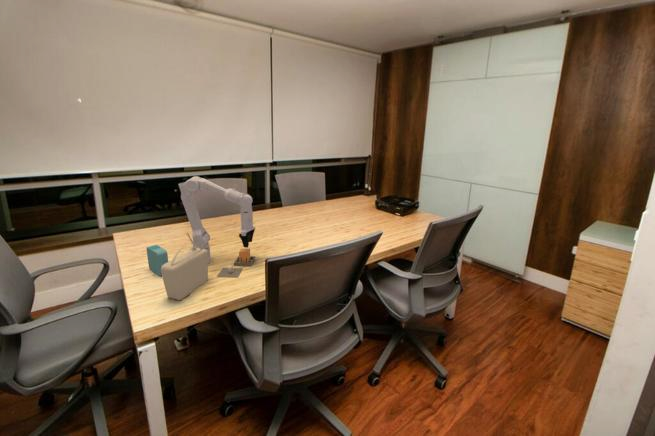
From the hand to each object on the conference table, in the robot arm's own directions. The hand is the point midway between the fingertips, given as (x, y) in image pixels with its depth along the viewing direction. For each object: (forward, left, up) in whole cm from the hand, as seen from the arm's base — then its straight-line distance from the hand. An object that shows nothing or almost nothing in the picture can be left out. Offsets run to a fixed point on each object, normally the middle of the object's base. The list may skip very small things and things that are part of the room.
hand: (247, 244), depth 165 cm
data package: (-39, -14, -10) cm, 43 cm away
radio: (-19, -30, -10) cm, 37 cm away
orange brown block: (-1, -2, -10) cm, 10 cm away
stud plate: (-5, -14, -10) cm, 18 cm away
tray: (-1, -2, -10) cm, 10 cm away
